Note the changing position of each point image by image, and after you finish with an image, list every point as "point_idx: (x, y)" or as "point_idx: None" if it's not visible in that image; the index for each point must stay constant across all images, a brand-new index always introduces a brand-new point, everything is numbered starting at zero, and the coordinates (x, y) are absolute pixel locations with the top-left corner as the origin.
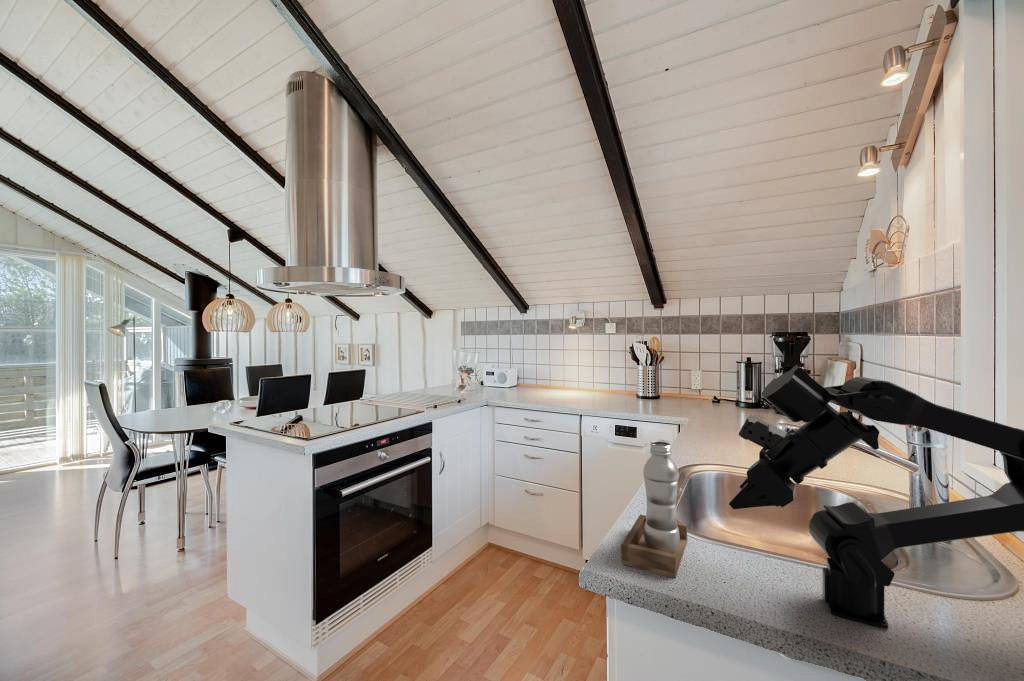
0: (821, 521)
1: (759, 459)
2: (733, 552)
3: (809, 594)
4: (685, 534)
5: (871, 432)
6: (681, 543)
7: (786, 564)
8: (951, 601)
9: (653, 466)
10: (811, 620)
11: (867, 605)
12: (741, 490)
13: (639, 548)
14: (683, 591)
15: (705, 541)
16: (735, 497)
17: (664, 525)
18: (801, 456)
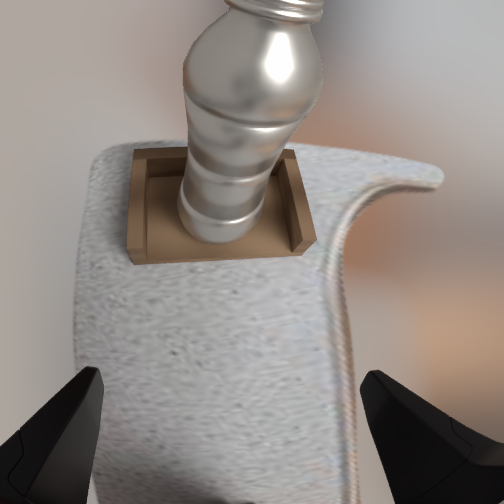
0: None
1: (498, 468)
2: (313, 347)
3: (230, 487)
4: (295, 246)
5: None
6: (269, 246)
7: (324, 439)
8: None
9: (204, 30)
10: (141, 488)
11: None
12: (13, 436)
13: (133, 178)
14: (98, 286)
15: (325, 287)
16: (50, 399)
17: (187, 190)
18: None
